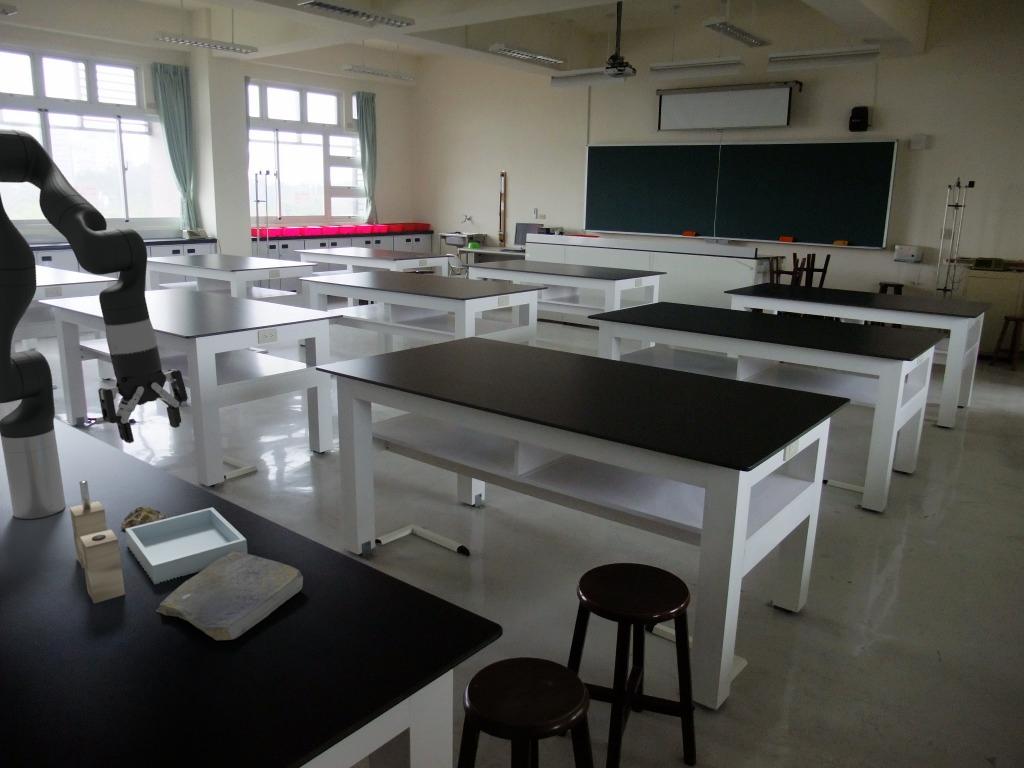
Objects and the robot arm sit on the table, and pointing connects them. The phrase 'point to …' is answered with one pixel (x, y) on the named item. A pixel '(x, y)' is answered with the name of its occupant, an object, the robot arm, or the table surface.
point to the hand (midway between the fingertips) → (152, 434)
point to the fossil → (233, 594)
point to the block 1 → (86, 519)
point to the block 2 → (102, 565)
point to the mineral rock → (141, 517)
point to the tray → (183, 543)
